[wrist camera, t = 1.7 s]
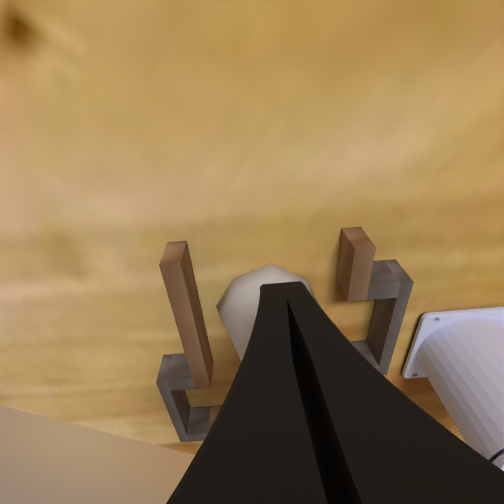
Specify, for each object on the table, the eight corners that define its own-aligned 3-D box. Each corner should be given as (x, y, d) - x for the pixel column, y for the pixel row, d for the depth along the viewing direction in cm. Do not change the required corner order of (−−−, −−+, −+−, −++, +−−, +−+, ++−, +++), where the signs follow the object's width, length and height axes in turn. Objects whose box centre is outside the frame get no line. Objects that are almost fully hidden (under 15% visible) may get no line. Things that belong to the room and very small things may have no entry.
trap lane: (403, 223, 19) (425, 243, 17) (354, 431, 33) (362, 456, 31) (124, 245, 19) (110, 268, 17) (194, 444, 33) (191, 470, 31)
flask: (263, 348, 25) (277, 494, 16) (199, 303, 22) (175, 453, 13) (334, 303, 22) (392, 447, 14) (272, 245, 19) (299, 383, 11)
